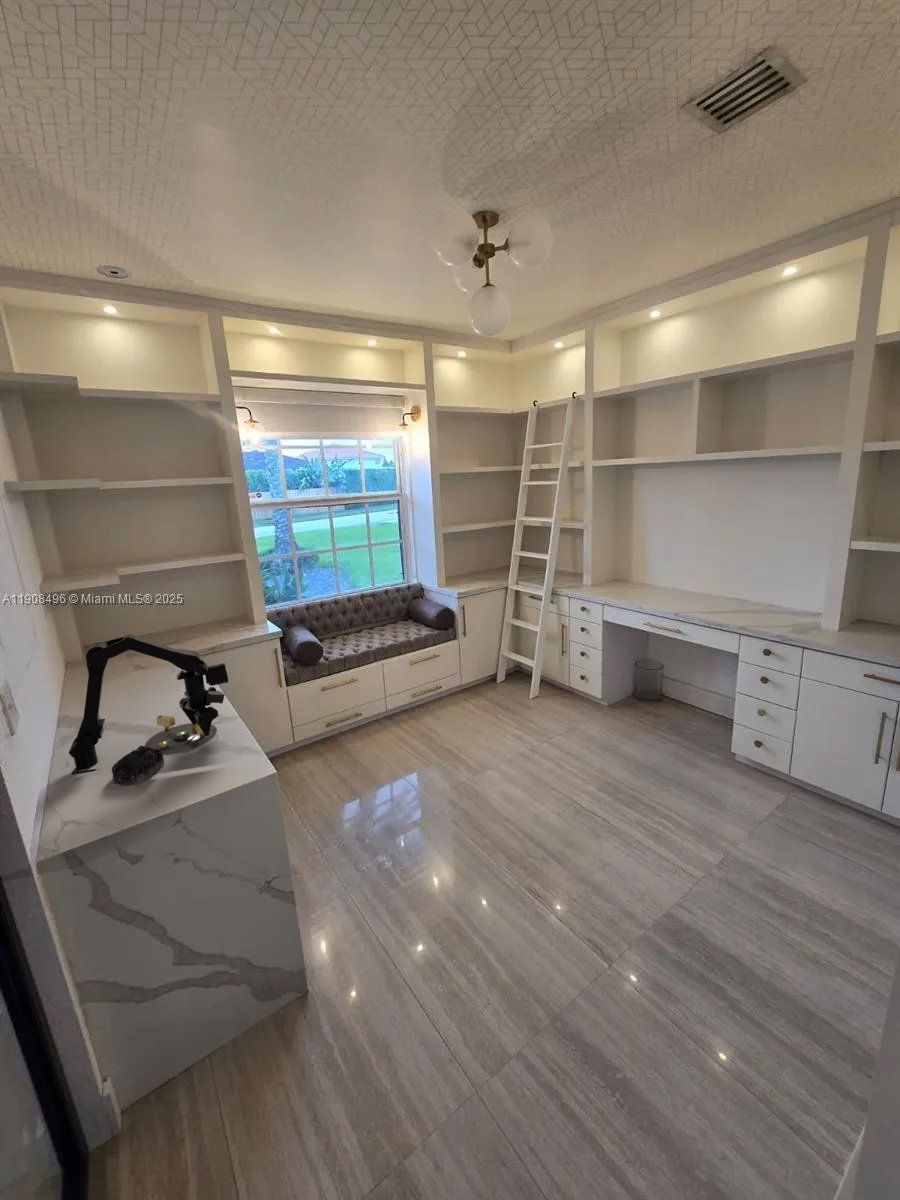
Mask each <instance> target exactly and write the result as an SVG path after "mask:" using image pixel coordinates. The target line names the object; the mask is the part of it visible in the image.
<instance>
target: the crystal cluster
mask: <svg viewBox="0 0 900 1200" xmlns="http://www.w3.org/2000/svg"><path fill="white" fill-rule="evenodd" d="M164 764H165V759H164V755H163V753H162V752H161V750H160V749H153V748H151V747H147V746H146V747H145V745H139V746H138V747H137V748H136V749H135V750H131V751H130V752H129V753H127V754H125V755H124V756H123V757H121V758H120V759H119V760H117V761H116V762H115V763H114V764H113V765H112V767H111V773H112V779H113V781H112V782H113V783H114V784H115V785H120V786H128V785H129V786H131V785H136V784H142V783H145V782H146V781H148V780H151V779H152V778H153V777H154V776H155V775H156V773H155V772H156V771H158V770H159V769H161V768H163V766H164Z"/></svg>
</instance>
